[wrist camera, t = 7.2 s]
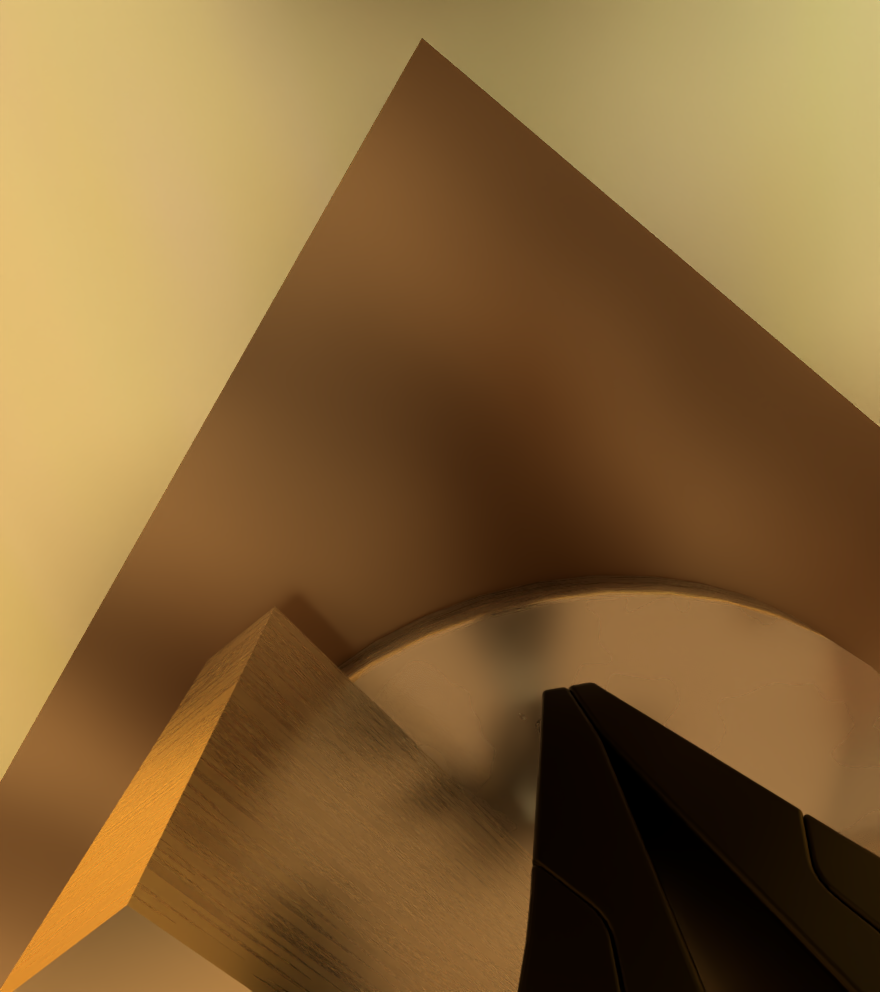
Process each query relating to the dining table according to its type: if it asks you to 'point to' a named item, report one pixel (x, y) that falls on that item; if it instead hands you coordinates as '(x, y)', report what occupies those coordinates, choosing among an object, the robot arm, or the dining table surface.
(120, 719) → the board
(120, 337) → the dining table surface
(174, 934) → the dial
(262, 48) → the dining table surface
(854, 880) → the robot arm
